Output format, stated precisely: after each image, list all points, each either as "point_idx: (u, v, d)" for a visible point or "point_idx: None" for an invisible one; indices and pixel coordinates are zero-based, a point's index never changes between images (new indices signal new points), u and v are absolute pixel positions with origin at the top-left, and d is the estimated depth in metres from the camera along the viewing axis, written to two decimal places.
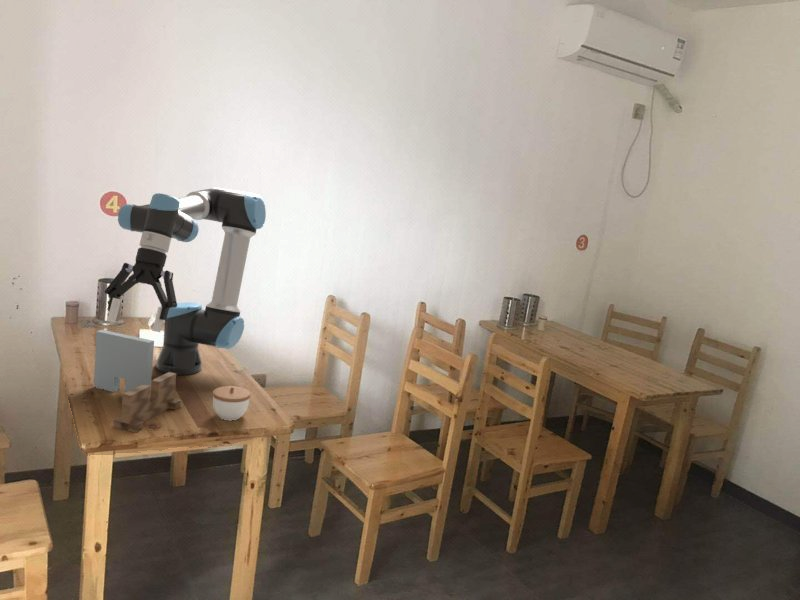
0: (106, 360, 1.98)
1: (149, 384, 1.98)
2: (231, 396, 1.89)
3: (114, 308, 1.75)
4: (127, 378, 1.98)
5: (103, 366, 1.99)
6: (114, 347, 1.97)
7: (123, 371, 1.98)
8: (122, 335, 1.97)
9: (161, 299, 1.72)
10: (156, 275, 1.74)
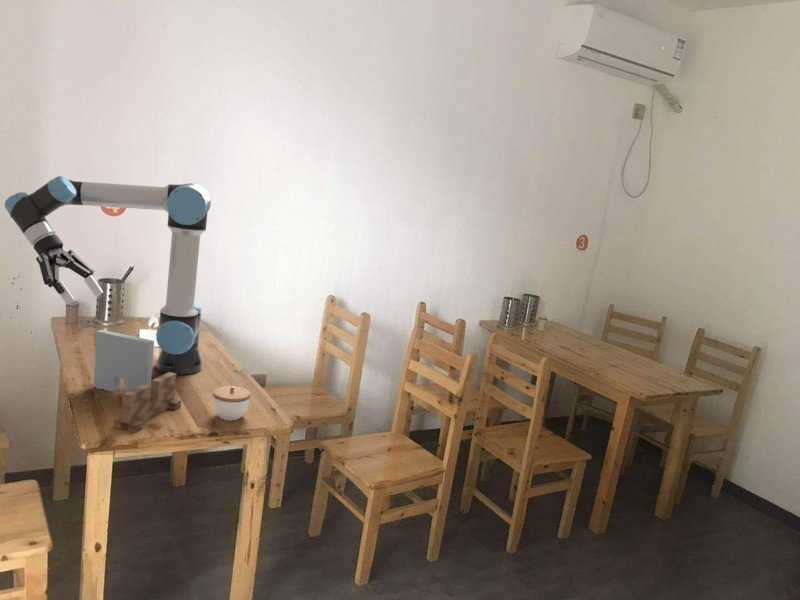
0: (106, 360, 1.98)
1: (149, 384, 1.98)
2: (231, 396, 1.89)
3: (90, 285, 2.03)
4: (127, 378, 1.98)
5: (103, 366, 1.99)
6: (114, 346, 1.97)
7: (123, 371, 1.98)
8: (122, 335, 1.97)
9: None
10: None
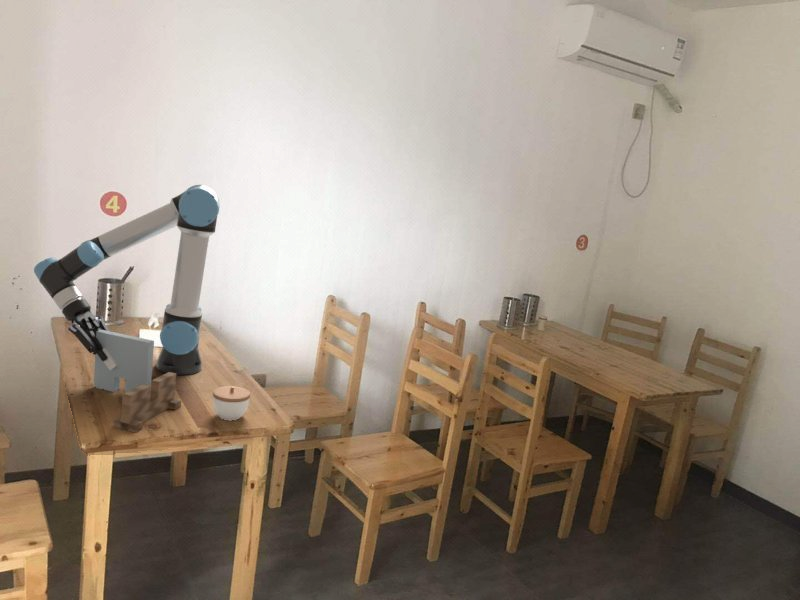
0: None
1: (149, 384, 1.98)
2: (231, 396, 1.89)
3: None
4: (127, 378, 1.98)
5: (103, 366, 1.99)
6: (114, 346, 1.97)
7: (123, 371, 1.98)
8: (122, 335, 1.97)
9: None
10: None
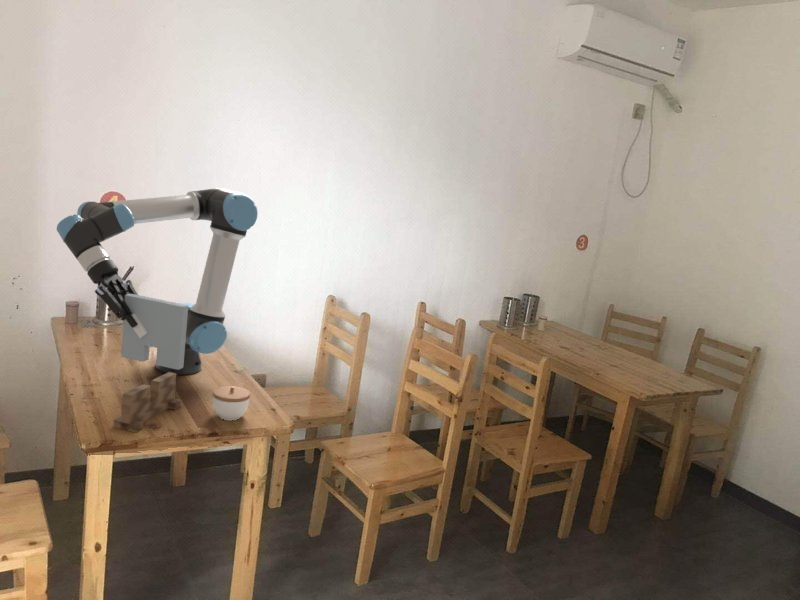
0: None
1: (182, 353, 1.81)
2: (231, 396, 1.89)
3: None
4: (158, 346, 1.80)
5: (132, 334, 1.82)
6: (145, 312, 1.80)
7: (154, 339, 1.80)
8: (153, 299, 1.80)
9: None
10: None
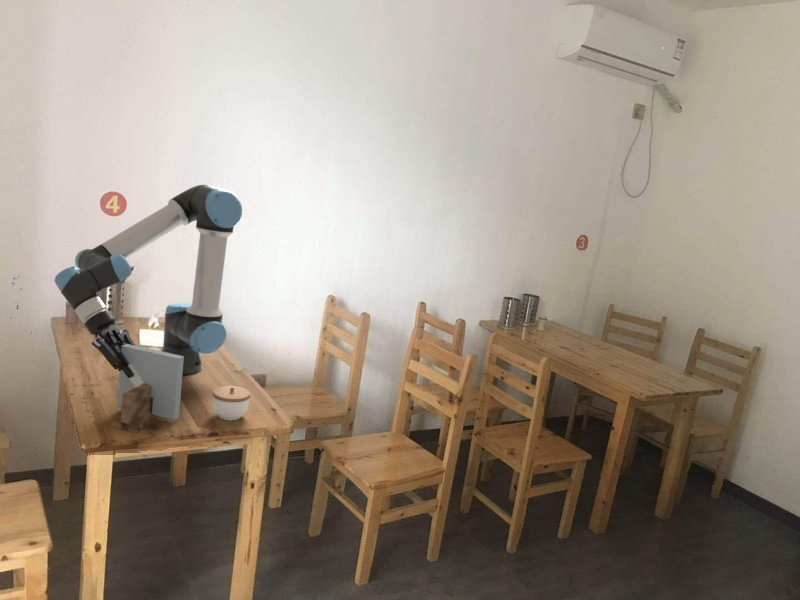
0: None
1: (178, 403, 1.84)
2: (231, 396, 1.89)
3: None
4: (154, 396, 1.83)
5: (128, 384, 1.84)
6: (141, 362, 1.82)
7: (150, 389, 1.83)
8: (149, 350, 1.83)
9: None
10: None
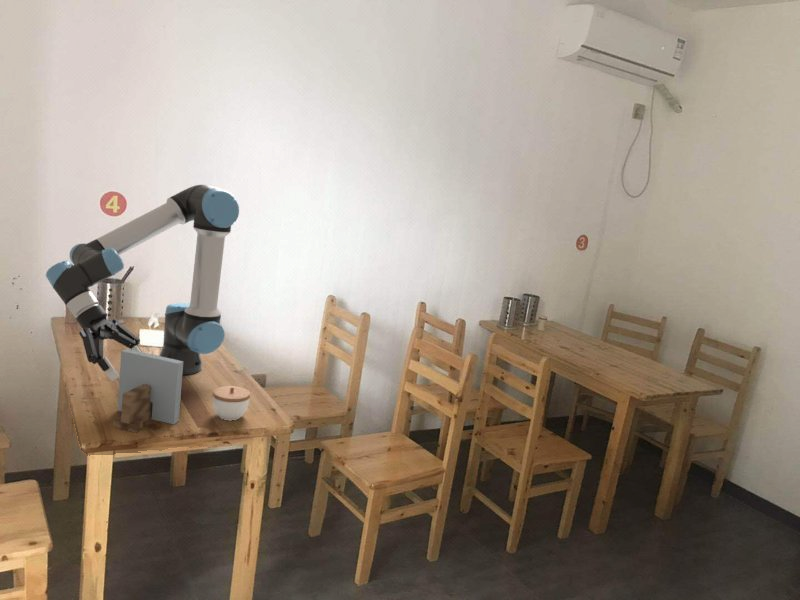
0: (131, 382, 1.84)
1: (178, 408, 1.84)
2: (231, 396, 1.89)
3: None
4: (154, 401, 1.83)
5: (128, 389, 1.85)
6: (141, 367, 1.83)
7: (150, 394, 1.83)
8: (149, 355, 1.83)
9: None
10: None
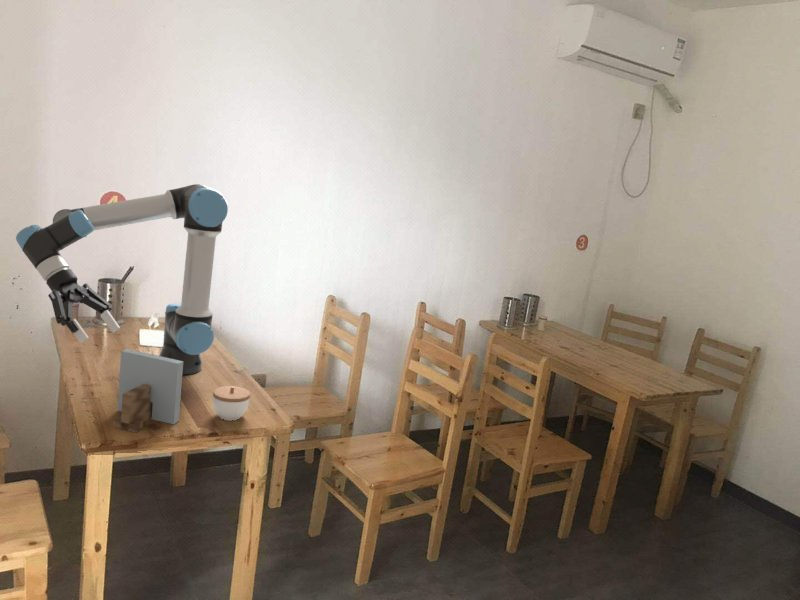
0: (131, 382, 1.84)
1: (178, 408, 1.84)
2: (231, 396, 1.89)
3: (106, 321, 1.92)
4: (154, 401, 1.83)
5: (128, 389, 1.85)
6: (141, 367, 1.83)
7: (150, 394, 1.83)
8: (149, 355, 1.83)
9: None
10: (60, 297, 1.83)
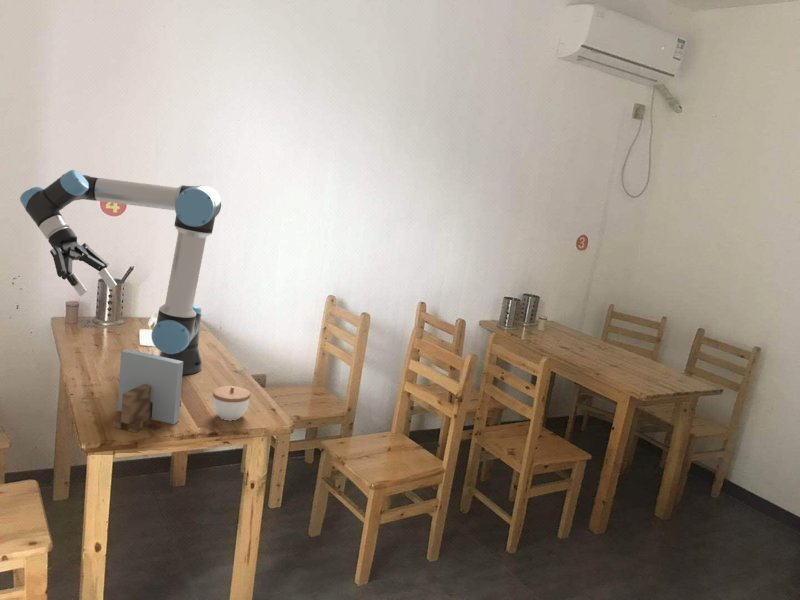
0: (131, 382, 1.84)
1: (178, 408, 1.84)
2: (231, 396, 1.89)
3: (104, 278, 2.06)
4: (154, 401, 1.83)
5: (128, 389, 1.85)
6: (141, 367, 1.83)
7: (150, 394, 1.83)
8: (149, 355, 1.83)
9: None
10: None
